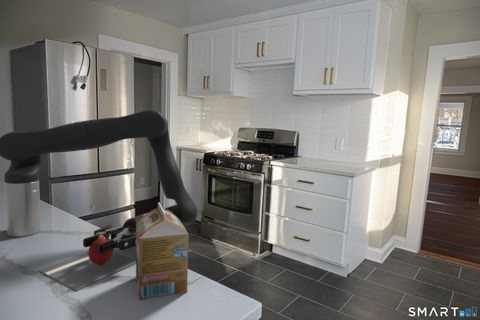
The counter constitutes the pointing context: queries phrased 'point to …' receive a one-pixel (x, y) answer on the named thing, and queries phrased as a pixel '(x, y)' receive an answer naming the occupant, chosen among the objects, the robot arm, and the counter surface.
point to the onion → (99, 257)
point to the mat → (86, 270)
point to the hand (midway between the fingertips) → (91, 246)
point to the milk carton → (161, 255)
